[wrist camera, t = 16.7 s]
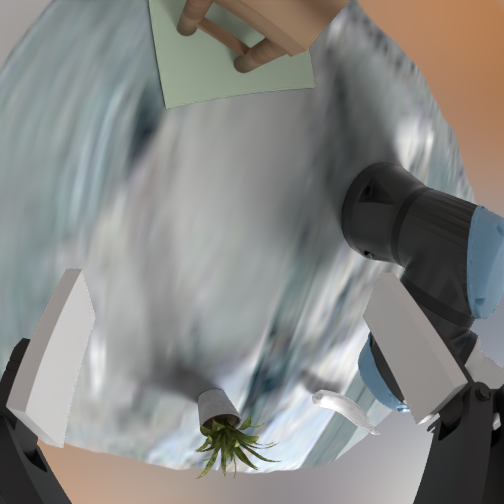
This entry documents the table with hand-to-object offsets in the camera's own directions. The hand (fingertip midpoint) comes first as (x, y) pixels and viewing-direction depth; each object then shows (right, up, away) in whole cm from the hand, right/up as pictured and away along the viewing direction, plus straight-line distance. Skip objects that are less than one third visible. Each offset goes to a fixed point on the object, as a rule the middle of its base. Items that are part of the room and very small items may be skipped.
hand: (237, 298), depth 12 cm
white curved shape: (+17, -29, +47) cm, 58 cm away
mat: (-2, +28, +13) cm, 31 cm away
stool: (-1, +27, +13) cm, 30 cm away
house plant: (-5, -23, +35) cm, 43 cm away
